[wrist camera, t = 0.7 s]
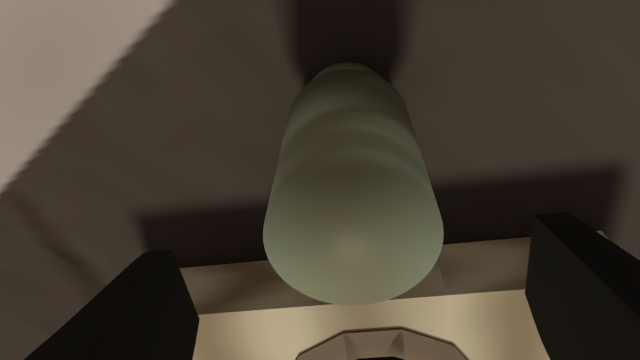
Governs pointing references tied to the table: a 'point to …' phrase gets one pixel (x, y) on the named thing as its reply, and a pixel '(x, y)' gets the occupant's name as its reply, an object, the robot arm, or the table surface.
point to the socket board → (373, 312)
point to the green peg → (351, 193)
